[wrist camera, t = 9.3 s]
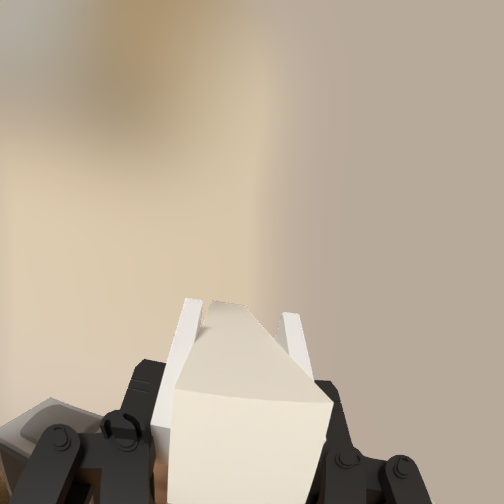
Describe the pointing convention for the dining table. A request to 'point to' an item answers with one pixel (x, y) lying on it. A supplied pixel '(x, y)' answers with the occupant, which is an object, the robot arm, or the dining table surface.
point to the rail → (243, 417)
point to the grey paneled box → (30, 430)
